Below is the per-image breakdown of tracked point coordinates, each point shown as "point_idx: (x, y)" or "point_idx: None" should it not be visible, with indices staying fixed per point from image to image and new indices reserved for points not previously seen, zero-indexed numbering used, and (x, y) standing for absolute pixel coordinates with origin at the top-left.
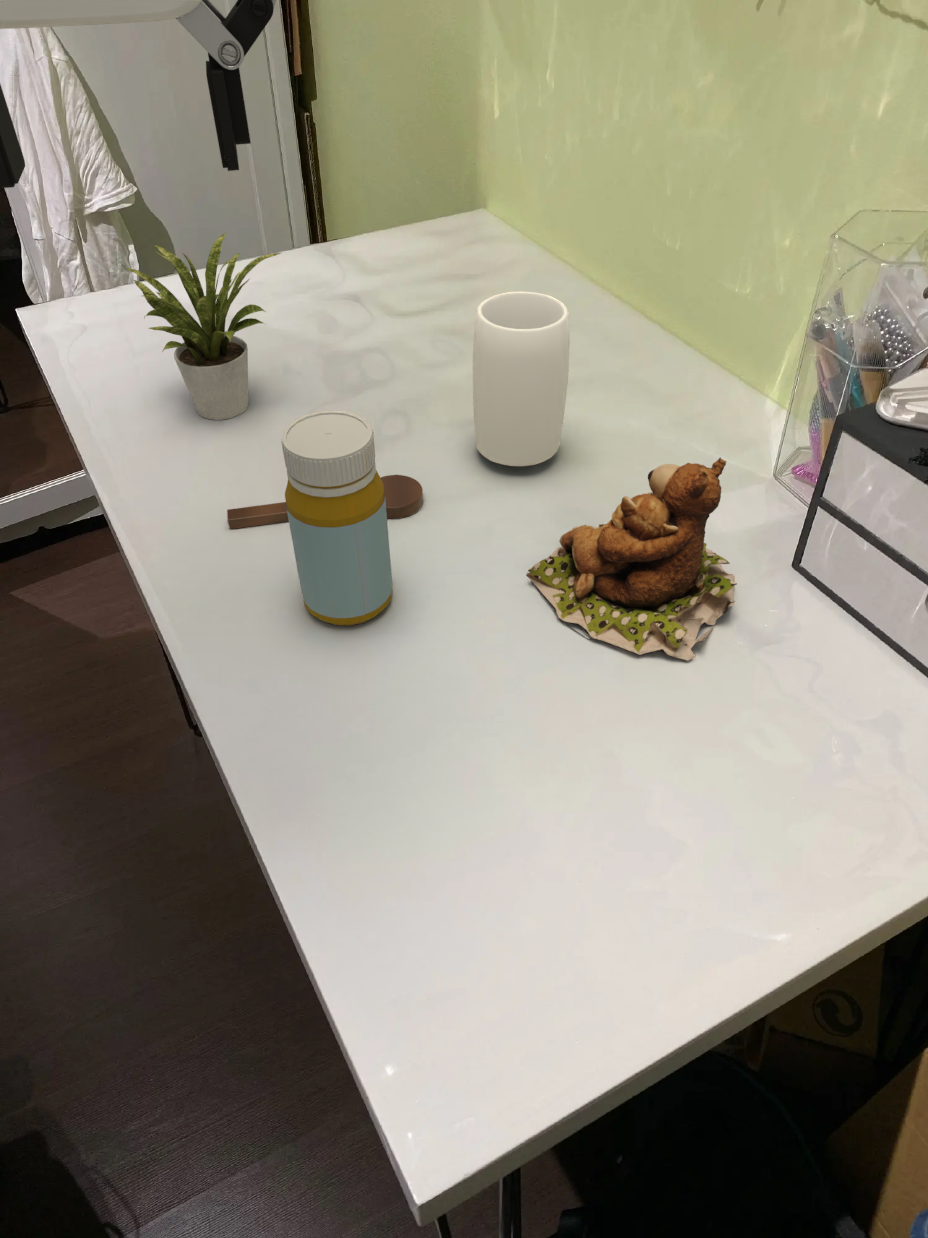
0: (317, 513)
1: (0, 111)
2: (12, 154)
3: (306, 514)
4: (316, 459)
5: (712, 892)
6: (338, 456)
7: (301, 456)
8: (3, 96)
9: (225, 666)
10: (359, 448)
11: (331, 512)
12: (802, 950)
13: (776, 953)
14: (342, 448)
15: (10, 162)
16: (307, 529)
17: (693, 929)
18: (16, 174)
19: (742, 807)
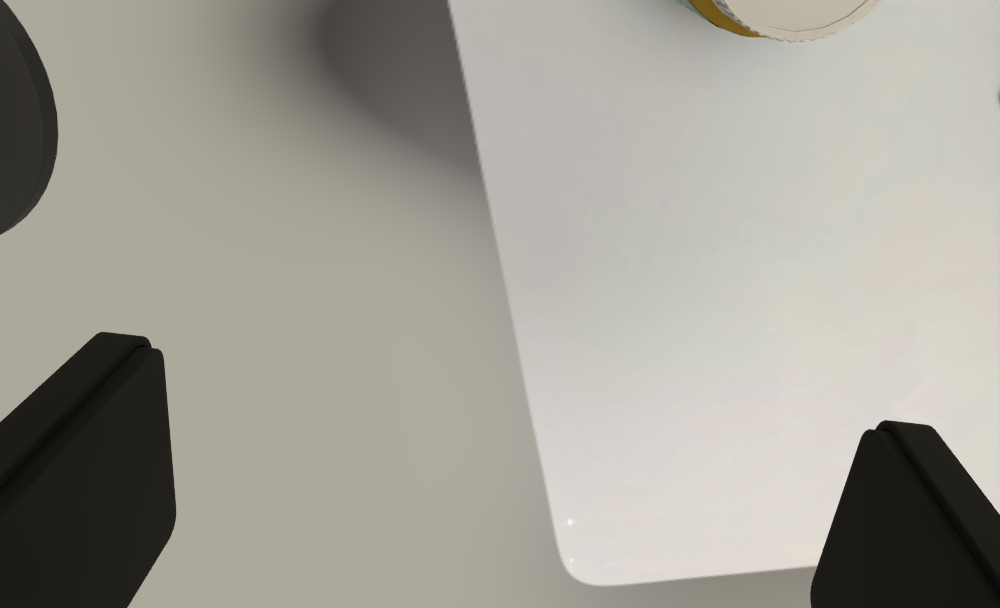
0: (717, 22)
1: (70, 589)
2: (140, 512)
3: (699, 6)
4: (756, 30)
5: None
6: (800, 38)
7: (731, 11)
8: (38, 489)
9: (505, 25)
10: (850, 22)
11: (742, 31)
12: None
13: None
14: (819, 4)
15: (148, 556)
16: (691, 4)
17: None
18: (166, 510)
19: (994, 424)
